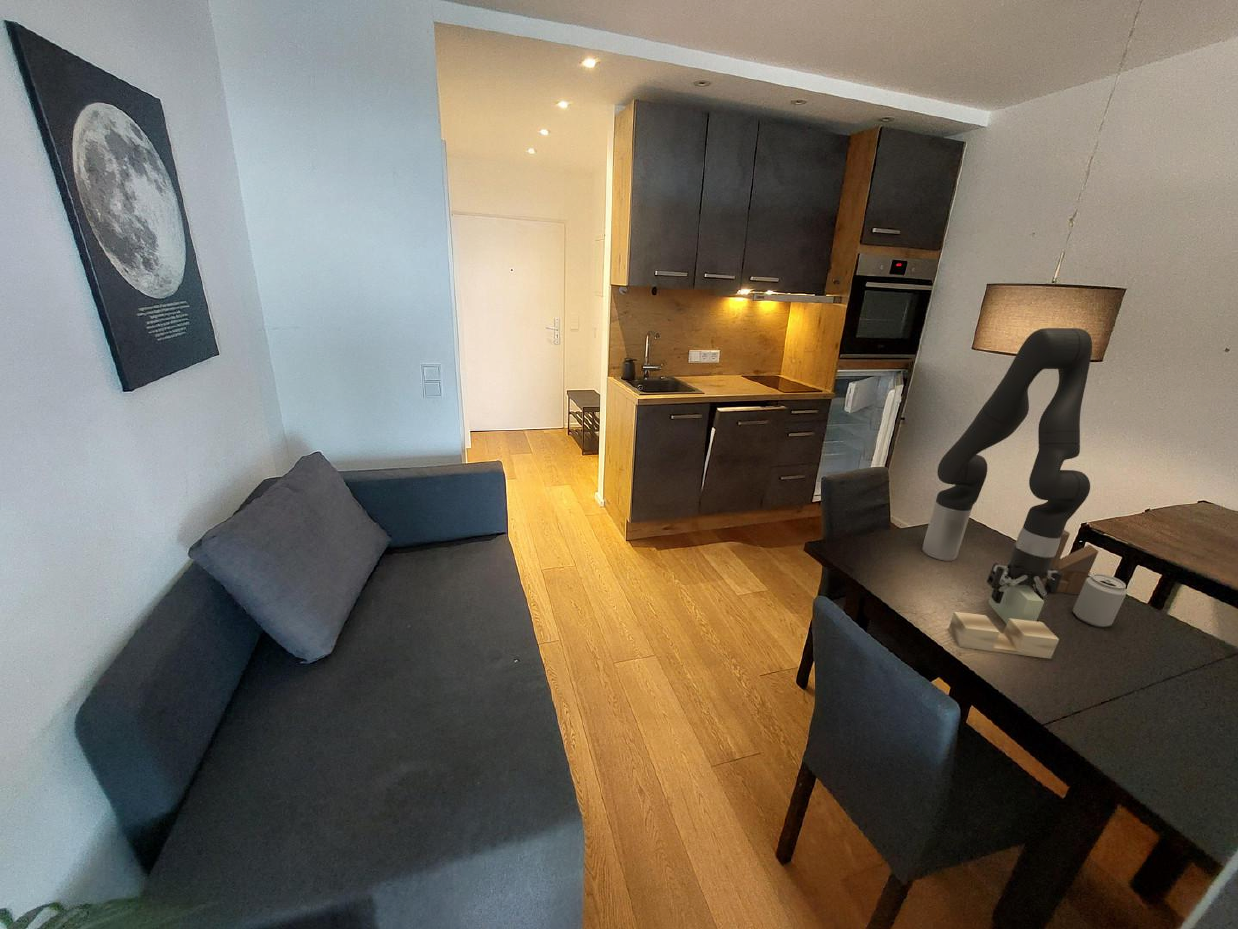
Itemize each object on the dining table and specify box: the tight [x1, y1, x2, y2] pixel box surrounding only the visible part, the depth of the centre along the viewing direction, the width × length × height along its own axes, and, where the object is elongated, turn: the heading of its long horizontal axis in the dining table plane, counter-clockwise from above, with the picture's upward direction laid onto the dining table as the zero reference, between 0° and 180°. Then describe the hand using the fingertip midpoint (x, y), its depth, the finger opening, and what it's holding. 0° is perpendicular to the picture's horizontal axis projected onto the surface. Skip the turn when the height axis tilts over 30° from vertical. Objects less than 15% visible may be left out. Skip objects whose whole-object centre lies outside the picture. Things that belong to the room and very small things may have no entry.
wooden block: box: [1031, 529, 1099, 596], centre depth 131 cm, size 4×11×18 cm, turn 77°
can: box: [1072, 572, 1128, 628], centre depth 120 cm, size 8×8×12 cm
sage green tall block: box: [988, 572, 1045, 625], centre depth 121 cm, size 12×4×10 cm, turn 170°
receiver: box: [947, 611, 1060, 659], centre depth 113 cm, size 6×19×6 cm, turn 80°
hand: (1014, 603), depth 121 cm, fingers open, 8 cm apart
